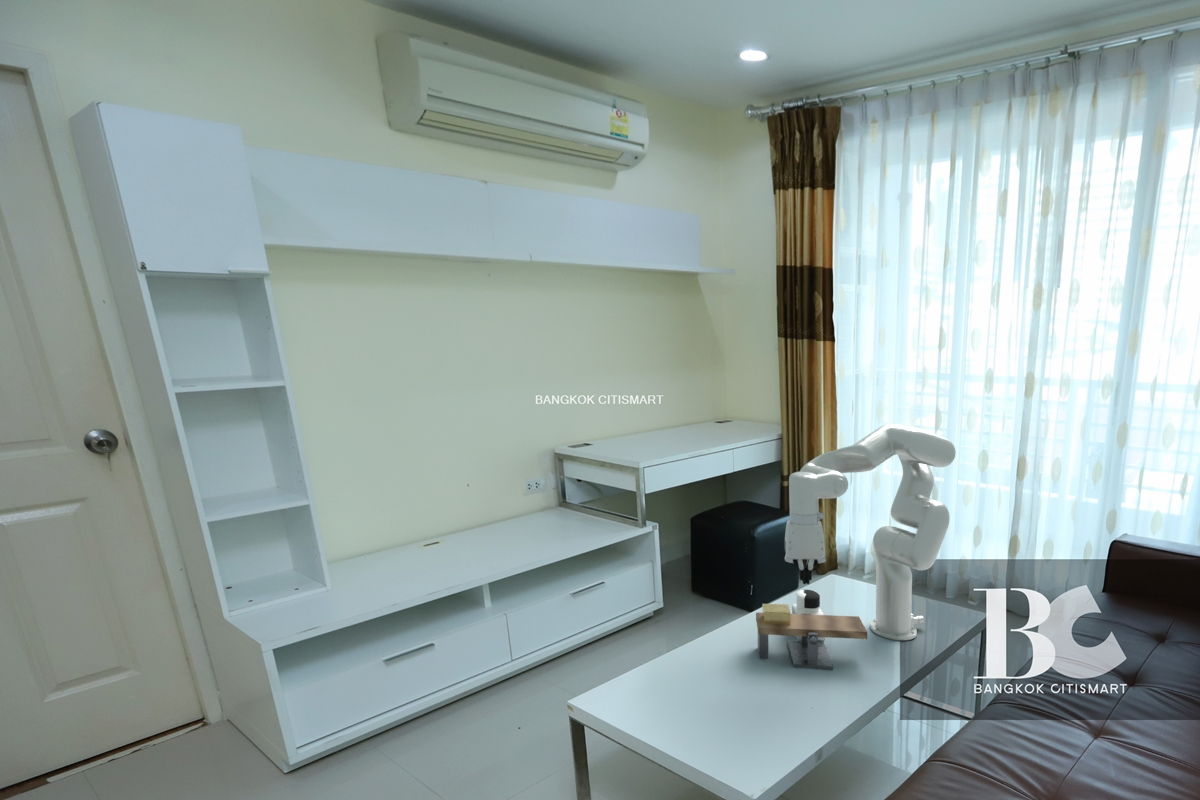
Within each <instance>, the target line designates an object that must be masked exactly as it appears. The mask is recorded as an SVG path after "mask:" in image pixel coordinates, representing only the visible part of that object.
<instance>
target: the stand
mask: <svg viewBox="0 0 1200 800" xmlns="http://www.w3.org/2000/svg"><path fill="white" fill-rule="evenodd" d="M801 614H803V613H801ZM807 615H810V614H807ZM787 646H788V650H789V655H790V657H791V662H792V666H793V668H794V669H795V668H796V669H806V670H807V669H810V670H826V671H834V667H833V666H834V665H833V663H832V659H831V658H830V655H829V653H828V650H827V648H826V645H825V642H824V641H819V640H818V633H817V632H808V636H801V640H792V639H791V640H789V639H787ZM757 652H758V658H759V660H761V659H762V660H769V635H764V634H759V633H758V632H757Z"/></svg>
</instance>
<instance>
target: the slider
mask: <svg viewBox="0 0 1200 800" xmlns="http://www.w3.org/2000/svg"><path fill="white" fill-rule="evenodd" d="M761 604H762V605H761V606H762V613H763V620H764V624H784V625H791V614H792V612H791V611H790V607H789V604H784V603H783V604H779V603H778V604H777V603H761Z"/></svg>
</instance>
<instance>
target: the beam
mask: <svg viewBox="0 0 1200 800" xmlns="http://www.w3.org/2000/svg"><path fill="white" fill-rule="evenodd" d="M755 621H756V626H757V634H758V633H759V634H764V635H768V636H769V635H771V636H791V637H796V636H808V632H817V633H818V637H825V638H830V639H831V638H836V639H837V638H838V639H855V640H856V639H857V640H858V639H859V640H868V630H867V628H866V627H865V625H864V623H863V621H862V619H861V618H860V616H853V615H851V616H850V615H829V614H824V615H807V614H792V613H791V625H784V624H764V620H763V612H755Z"/></svg>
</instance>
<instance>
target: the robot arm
mask: <svg viewBox="0 0 1200 800" xmlns="http://www.w3.org/2000/svg"><path fill="white" fill-rule="evenodd" d="M896 455H897V456H898V459H899V461H900V463H901V467H902V476H901V481H900V483H899V486H898V489H897V492H896V494H895V496H894V498H893V502H892V505H891V508H890V517H891V518H892V519H893V521H895V523H898V524H900V525H904V526H907V527H909V528H912V529H916V530H917V531H916V533H915V532H911V531H909V530H906V529H903V528H900V527H896V526H893V525H892V526H891V525H886V526H882V527H880V528H878V529H877V530H876V531H875V532H874V534H873V538H872V545H873V547H872V548H873V552H874V556H875V567H876V570H875V571H876V576H875V577H876V578H875V579H876V580H875V582H876V583H875V618H874V619H871V621H870V622H869V628H870V629H871V631H872V632H873V633H875V634H876V635H878V636H880V637H882V638H885V639H889V640H893V641H910V640H913V639H915V638H916V637H917V635H918V634H917V633H918V631H917V629H916V627H915V625H916V624H921V623H924V622H925V617H924V616H923V615H916V616H915V615H914V614H913V613H912V595H913V588H912V587H913V573H912V571H911V568H912V569H914V570H917V571H926V570H928V569H930V568H931V567H933V565H934V564H935V562H936V560H937V557H938V556H939V553H940V550H941V548H942V544H943V543H944V539H945V537H946V534H947V532H948V529H949V525H950V512H949V510H948V507H947V506H946V505H945V504H944V503H943V502H941V501H939V500H936V499H932V498H931V494H932V492H933V489H934V486H935V485H934V484H935V479H934V474H933V472H932V469H931V467H935V468H946V467H948V466H950V465H951V464H952V463H953V462H954V460H955V458H956V447H955V445H954V443H953V442H952V441H951V440H950V439H948V438H946V437H943V436H941V435H939V434H938V435H937V434H935V433H934V432H930V431H927V430H925V429H923V428H922V429H921V428H919V427H916V426H909V425H903V424H897V423H896V424H894V423H893V424H892V423H888V424H887V423H886V424H884V425H881V426H880V427H878V428H877V429H875V430H873V431H872V432H871V433H869V434H868V435H866V436H864V437H863V438H861V439H860V440H858V441H857V442H855V443H853V444H852V445H849V446H844V447H840V448H838V449H834V450H831V451H828V452H824V453H822V454H820V455H818V456H815V458H813V459H812V460H809V461H808V462H807V463H806V464H804V466H802V468H800V470H799V471H795V472H793V473H791V474H789V476H788V499H789V505H788V506H789V519H788V520H787V521H786V524H785V534H784V552H785V556H784V561H785V562H787V563H789V564H794V565H795V566H796V567H797V568H798V571H799V572H798V573H799V576H798V577H799V581H802V584H803V585H810V581H812V578H813V577H812V572H813V571H812V570H813V569H815V567H816V566H817V565H818V564H822V563H826V562H827V559H826V546H825V545H826V544H825V537H824V536H825V535H824V529H823V528H824V527H823V525H822V521H821V520H822V519H825V517H826V516H825V513H822V512H820V509H819V506H820V505H819V500H820V499H837V498H840V497H842V496H843V495H844V494H846V492H847V491H848V488H849V481H848V479H847V477H846V476H845V474H846V473H847V474H851V473H854V474H855V473H864V472H865V473H866V472H870V471H872V470H874V469H876V468H877V467H879V466H880V465H882V464H883V463H884V462H885V461H887V460H888V459H890V458H892V457H893V456H896ZM803 560H806V564H805V565H804V563H803Z"/></svg>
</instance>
